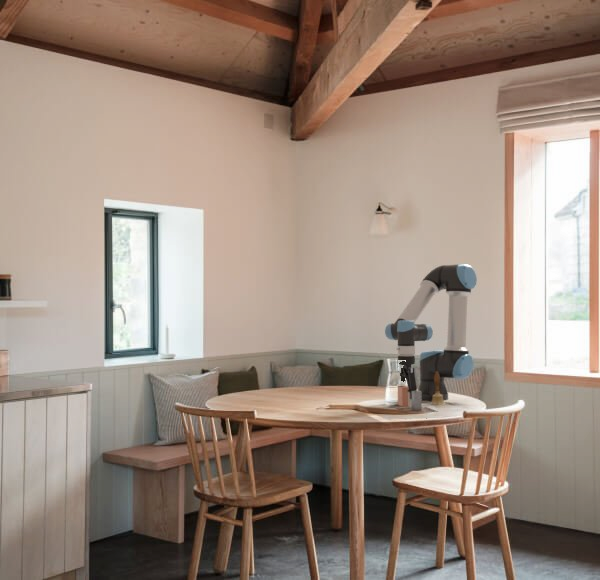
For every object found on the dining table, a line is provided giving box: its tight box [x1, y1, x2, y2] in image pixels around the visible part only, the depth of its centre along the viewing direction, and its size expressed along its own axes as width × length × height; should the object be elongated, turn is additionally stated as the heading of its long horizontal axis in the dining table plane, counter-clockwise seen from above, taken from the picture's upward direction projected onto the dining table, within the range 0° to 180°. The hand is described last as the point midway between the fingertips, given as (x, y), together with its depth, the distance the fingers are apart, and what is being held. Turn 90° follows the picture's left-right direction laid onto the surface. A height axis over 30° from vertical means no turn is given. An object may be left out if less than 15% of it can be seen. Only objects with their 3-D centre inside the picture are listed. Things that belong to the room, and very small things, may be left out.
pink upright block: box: [397, 385, 417, 408], centre depth 348 cm, size 6×6×10 cm
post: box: [411, 390, 423, 411], centre depth 334 cm, size 3×3×8 cm
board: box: [395, 406, 439, 414], centre depth 333 cm, size 14×14×2 cm
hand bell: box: [430, 371, 446, 406], centre depth 353 cm, size 8×8×16 cm
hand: (406, 404), depth 348 cm, fingers open, 11 cm apart
